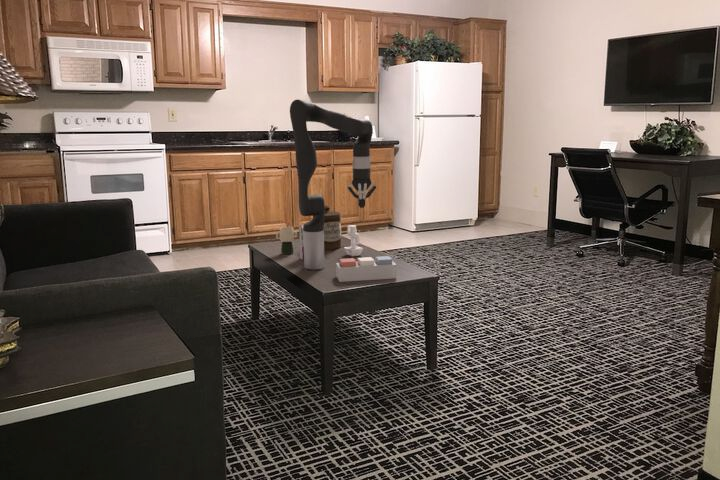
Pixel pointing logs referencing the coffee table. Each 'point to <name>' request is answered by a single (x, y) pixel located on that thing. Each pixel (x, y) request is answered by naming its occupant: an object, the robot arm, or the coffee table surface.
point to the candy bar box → (301, 242)
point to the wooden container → (332, 229)
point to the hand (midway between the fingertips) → (361, 207)
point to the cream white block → (365, 261)
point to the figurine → (353, 241)
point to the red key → (347, 262)
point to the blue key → (383, 260)
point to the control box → (365, 272)
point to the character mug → (286, 239)
